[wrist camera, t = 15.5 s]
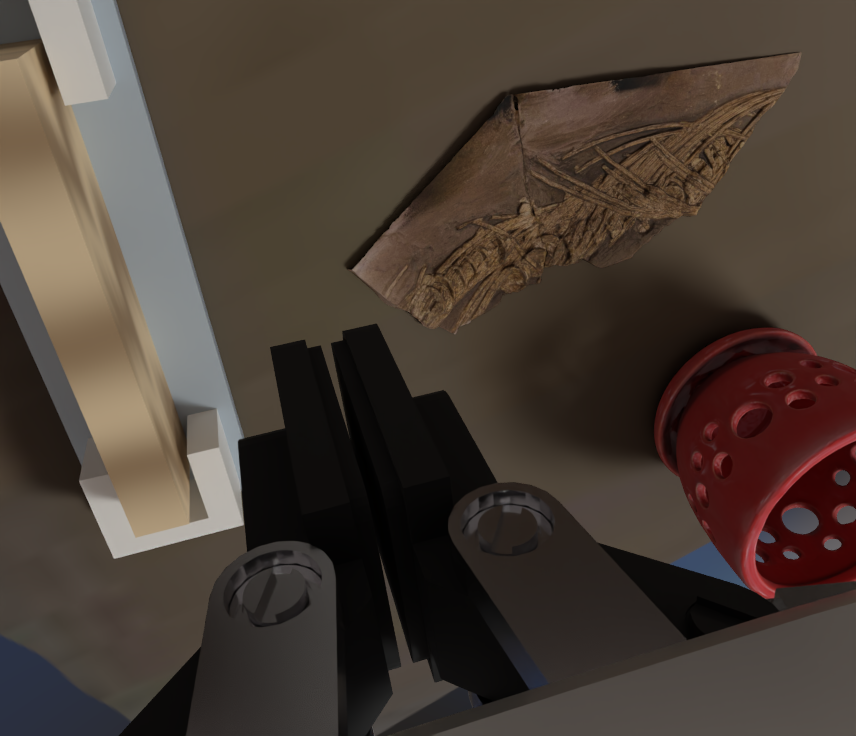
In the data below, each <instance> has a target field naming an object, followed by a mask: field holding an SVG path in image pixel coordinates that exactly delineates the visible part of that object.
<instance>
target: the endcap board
mask: <svg viewBox="0 0 856 736" xmlns="http://www.w3.org/2000/svg"><path fill="white" fill-rule="evenodd" d="M41 38H42V41H43V44H44V47H45V50H46V53H47V56H48V58H49V61H50V64H51V67H52V70H53V73H54V76H55V79H56V81H57V84H58V87H59V90H60V93H61V96H62V99H63V101H64V104H65V106H67V105H71V106H72V109H73V112H74V115H75V118H76V121H77V123H78V126H79V129H80V132H81V135H82V138H83V141H84V144H85V147H86V149H87V152H88V155H89V158H90V161H91V164H92V167H93V170H94V173H95V176H96V178H97V181H98V184H99V187H100V190H101V193H102V196H103V199H104V202H105V205H106V207H107V210H108V213H109V216H110V219H111V222H112V225H113V228H114V231H115V233H116V236H117V239H118V242H119V245H120V248H121V251H122V254H123V257H124V260H125V262H126V265H127V268H128V271H129V274H130V277H131V280H132V283H133V286H134V288H135V291H136V294H137V297H138V300H139V303H140V306H141V309H142V312H143V315H144V317H145V320H146V323H147V326H148V329H149V332H150V335H151V338H152V341H153V344H154V346H155V349H156V352H157V355H158V358H159V361H160V364H161V367H162V370H163V372H164V375H165V378H166V381H167V384H168V387H169V390H170V393H171V396H172V399H173V401H174V404H175V407H176V410H177V413H178V416H179V419H180V422H181V425H182V427H183V430H184V433H185V436H186V439H187V457H188V460H189V463H190V506H189V524H187V525H183V526H179V527H175V528H171V529H168V530H164V531H160V532H156V533H152V534H148V535H144V536H141V537H137V538H135V535H134V533H133V531H132V528H131V526H130V524H129V521H128V519H127V517H126V514H125V512H124V510H123V507H122V505H121V503H120V500H119V498H118V496H117V493H116V491H115V489H114V486H113V484H112V482H111V479H110V477H109V475H108V472H107V470H106V468H105V465H104V463H103V461H102V458H101V456H100V453H99V451H98V449H97V446H96V444H95V442H94V439H93V437H92V435H91V432H90V430H89V428H88V425H87V423H86V421H85V418H84V416H83V414H82V411H81V409H80V407H79V404H78V402H77V400H76V397H75V395H74V393H73V390H72V388H71V386H70V383H69V381H68V379H67V376H66V374H65V372H64V369H63V367H62V364H61V362H60V360H59V357H58V355H57V353H56V350H55V348H54V346H53V343H52V341H51V339H50V336H49V334H48V332H47V329H46V327H45V325H44V322H43V320H42V318H41V315H40V313H39V311H38V308H37V306H36V304H35V301H34V299H33V297H32V294H31V292H30V290H29V287H28V285H27V282H26V280H25V278H24V275H23V273H22V271H21V268H20V266H19V264H18V261H17V259H16V257H15V254H14V252H13V250H12V247H11V245H10V243H9V240H8V238H7V236H6V233H5V231H4V229H3V226H2V224H1V222H0V284H1V287H2V289H3V291H4V293H5V295H6V298H7V300H8V302H9V304H10V307H11V309H12V311H13V313H14V316H15V318H16V320H17V322H18V325H19V327H20V329H21V331H22V334H23V336H24V338H25V340H26V343H27V345H28V347H29V349H30V351H31V354H32V356H33V358H34V360H35V363H36V365H37V367H38V369H39V372H40V374H41V376H42V378H43V381H44V383H45V385H46V387H47V390H48V392H49V394H50V396H51V399H52V401H53V403H54V405H55V407H56V410H57V412H58V414H59V416H60V419H61V421H62V423H63V425H64V428H65V430H66V432H67V434H68V437H69V439H70V441H71V443H72V446H73V448H74V450H75V452H76V454H77V457H78V459H79V461H80V463H81V466H82V469H81V474H80V478H79V483H80V485H81V487H82V489H83V491H84V494H85V496H86V498H87V500H88V502H89V505H90V507H91V509H92V511H93V513H94V516H95V518H96V520H97V522H98V524H99V527H100V529H101V531H102V533H103V535H104V538H105V540H106V542H107V544H108V546H109V548H110V551H111V553H112V555H113V557H114V559H115V558H119V557H123V556H127V555H131V554H134V553H138V552H142V551H146V550H150V549H153V548H157V547H161V546H165V545H169V544H173V543H176V542H180V541H184V540H188V539H192V538H196V537H199V536H203V535H207V534H211V533H215V532H218V531H222V530H226V529H230V528H234V527H238V526H241V525H244V524H243V512H242V501H241V490H242V487H241V476H240V465H239V453H238V440H239V439H243V438H244V435H243V432H242V428H241V425H240V422H239V418H238V415H237V411H236V408H235V405H234V401H233V398H232V394H231V391H230V387H229V384H228V381H227V377H226V374H225V370H224V367H223V364H222V360H221V357H220V353H219V350H218V347H217V343H216V340H215V336H214V333H213V330H212V326H211V323H210V319H209V316H208V312H207V309H206V306H205V302H204V299H203V295H202V292H201V289H200V285H199V282H198V278H197V275H196V272H195V268H194V265H193V261H192V258H191V255H190V251H189V248H188V244H187V241H186V238H185V234H184V231H183V227H182V224H181V220H180V217H179V214H178V210H177V207H176V203H175V200H174V197H173V193H172V190H171V186H170V183H169V180H168V176H167V173H166V169H165V166H164V163H163V159H162V156H161V152H160V149H159V145H158V142H157V139H156V135H155V132H154V128H153V125H152V122H151V118H150V115H149V111H148V108H147V105H146V101H145V98H144V94H143V91H142V88H141V84H140V81H139V77H138V74H137V70H136V67H135V64H134V60H133V57H132V53H131V50H130V47H129V43H128V40H127V36H126V33H125V30H124V26H123V23H122V19H121V16H120V13H119V9H118V6H117V2H116V0H0V44H6V43H13V42H20V41H27V40H34V39H41Z"/></svg>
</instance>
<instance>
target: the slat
mask: <svg viewBox="0 0 856 736" xmlns="http://www.w3.org/2000/svg"><path fill="white" fill-rule="evenodd" d="M0 222H1V224H2V226H3V229H4V231H5V233H6V236H7V238H8V240H9V243H10V245H11V247H12V250H13V252H14V254H15V257H16V259H17V261H18V264H19V266H20V268H21V271H22V273H23V275H24V278H25V280H26V282H27V285H28V287H29V290H30V292H31V294H32V297H33V299H34V301H35V304H36V306H37V308H38V311H39V313H40V315H41V318H42V320H43V322H44V325H45V327H46V329H47V332H48V334H49V336H50V339H51V341H52V343H53V346H54V348H55V350H56V353H57V355H58V357H59V360H60V362H61V364H62V367H63V369H64V372H65V374H66V376H67V379H68V381H69V383H70V386H71V388H72V390H73V393H74V395H75V397H76V400H77V402H78V404H79V407H80V409H81V411H82V414H83V416H84V418H85V421H86V423H87V425H88V428H89V430H90V432H91V435H92V437H93V439H94V442H95V444H96V446H97V449H98V451H99V453H100V456H101V458H102V461H103V463H104V465H105V468H106V470H107V472H108V475H109V477H110V479H111V482H112V484H113V486H114V489H115V491H116V493H117V496H118V498H119V500H120V503H121V505H122V507H123V510H124V512H125V514H126V517H127V519H128V521H129V524H130V526H131V528H132V531H133V533H134V535H135V538H137V537H141V536H144V535H148V534H152V533H156V532H160V531H164V530H168V529H171V528H175V527H179V526H183V525H187V524H189V506H190V463H189V460H188V457H187V439H186V436H185V433H184V430H183V427H182V425H181V422H180V419H179V416H178V413H177V410H176V407H175V404H174V401H173V399H172V396H171V393H170V390H169V387H168V384H167V381H166V378H165V375H164V372H163V370H162V367H161V364H160V361H159V358H158V355H157V352H156V349H155V346H154V344H153V341H152V338H151V335H150V332H149V329H148V326H147V323H146V320H145V317H144V315H143V312H142V309H141V306H140V303H139V300H138V297H137V294H136V291H135V288H134V286H133V283H132V280H131V277H130V274H129V271H128V268H127V265H126V262H125V260H124V257H123V254H122V251H121V248H120V245H119V242H118V239H117V236H116V233H115V231H114V228H113V225H112V222H111V219H110V216H109V213H108V210H107V207H106V205H105V202H104V199H103V196H102V193H101V190H100V187H99V184H98V181H97V178H96V176H95V173H94V170H93V167H92V164H91V161H90V158H89V155H88V152H87V149H86V147H85V144H84V141H83V138H82V135H81V132H80V129H79V126H78V123H77V121H76V118H75V115H74V112H73V109H72V106H71V105H67V106H65V104H64V101H63V99H62V96H61V93H60V90H59V87H58V84H57V81H56V79H55V76H54V73H53V70H52V67H51V64H50V61H49V58H48V56H47V53H46V50H45V47H44V44H43V41H42V38H41V39H34V40H27V41H20V42H13V43H6V44H0Z"/></svg>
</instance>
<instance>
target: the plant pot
mask: <svg viewBox="0 0 856 736" xmlns="http://www.w3.org/2000/svg"><path fill="white" fill-rule="evenodd" d="M654 437H655V445H656V448H657V451H658V454H659V456H660V458H661V460H662V462H663V463H664V464H665V466H666V467H667V468H668V469H669V470H670V471H671V472H673V473H674V474H675V475H677V476H678V477H680V480H681V483H682V486H683V489H684V492H685V494H686V497H687V499H688V501H689V504H690V506H691V508H692V509H693V511H694V513H695V515H696V517H697V519H698V521H699V522H700V524H701V526H702V527H703V529H704V530H705V532H706V533H707V535H708V536H709V538H710V539H711V541H712V542H713V544H714V545H715V547H716V548H717V550H718V551H719V552H720V554H721V555H722V556H723V558H724V559H725V560H726V561H727V563H728V564H729V565H730V567H731V568H732V569H733V570H734V572H735V573H736V574H737V575H738V577H739V578H740V579H741V580H742V581H743V583H744V584H745V585H746V586H747V587H748V588H749V589H750V590H751V591H754V592H756V593H758V594H759V595H761V596H762V597H763V598H766V599H769V598H774V596H775V591H776V588H785V587H796V586H807V585H818V584H829V583H840V582H851V581H856V520H855V521H854V522H851V523H848V524H840V523H839V522H838V521H837V517H836V516H837V513H838V511H839V510H840V509H841V508H842V507H844V506H853V507H854V508H855V509H856V456H855V451H856V370H855V369H853V368H851V367H849V366H847V365H844V364H842V363H839V362H836V361H834V360H830V359H827V358H823V357H820V356H817V354H816V352H815V351H814V349H813V348H812V346H811V345H810V344H809V343H808V342H807V341H806V340H805V339H803V338H802V337H801V336H799V335H797V334H795V333H793V332H790V331H787V330H784V329H780V328H754V329H748V330H743V331H739V332H736V333H733V334H730V335H727V336H725V337H723V338H721V339H718V340H717V341H715V342H713V343H711V344H710V345H708V346H706V347H705V348H703V349H702V350H701V351H699V352H698V353H697V354H695V355H694V356H693V357H692V358H691V359H689V360H688V361H687V362H686V363H685V364H684V365H683V366H682V368H681V369H680V370H679V371H678V372H677V373H676V374H675V376H674V377H673V378H672V380H671V381H670V383H669V384H668V386H667V388H666V389H665V391H664V393H663V395H662V397H661V400H660V402H659V405H658V408H657V412H656V417H655V424H654ZM841 470H845V471H847V472H848V473H849V475H850V481H849V483H848V484H847V485H846V486H841V485H838V484H837V483H836V482H835V475H836V473H837V472H838V471H841ZM796 507H801V508H806V509H809V510H810V511H812V512H813V513H814V514H815V515H816V516H817V518H818V520H819V525H818V527H817V528H816V529H815V530H814V531H812V532H810V533H808V534H803V535H802V534H797V533H794V532H791V531H790V530H788V529H787V528H786V527H785V525H784V524H783V521H782V515H783V513H784V512H785V511H787V510H788V509H791V508H796ZM761 531H765V532H768V533H770V534H771V535H772V536H773V537H774V538H775V540H776V542H774V543H764V542H761V541H760V540H759V539H758V537H759V535H760V532H761ZM828 539H838V540H839V541H840V542H841V543H842V545H841V547H840V548H839V549H837V550H828V549H826V548H825V547H824V543H825V542H826V541H827V540H828ZM785 551H792V552H794V553H796V554H797V555H798V556H799V558H798V559H795V560H793V559H788V558H786V557H785V556H784V555H783V552H785ZM755 553H756V554H758V555H759V556H760V557H762V559H763V560H764V562H765V563H762V562H758V561H756V560H755Z"/></svg>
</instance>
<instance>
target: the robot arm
mask: <svg viewBox="0 0 856 736" xmlns="http://www.w3.org/2000/svg"><path fill="white" fill-rule="evenodd" d="M331 346H332V352H333V357H334V362H335V367H336V372H337V377H338V382H339V387H340V392H341V396H342V401H343V406H344V411H345V416H346V421H347V426H348V431H349V435H348V431H347V428H346V425H345V422H344V419H343V416H342V412H341V409H340V406H339V403H338V400H337V396H336V393H335V390H334V387H333V384H332V380H331V377H330V374H329V371H328V368H327V364H326V361H325V358H324V355H323V352H322V348H321V346H316V347H311V348H307V346H306V342H305V340H300V341H296V342H291V343H287V344H282V345H278V346H273V347H270V349H271V355H272V360H273V365H274V371H275V376H276V381H277V387H278V392H279V397H280V403H281V408H282V413H283V419H284V424H285V429H281V430H276V431H272V432H268V433H264V434H260V435H256V436H252V437H247V438H243V439H239V440H238V453H239V465H240V476H241V487H242V499H243V510H244V521H245V532H246V544H247V553H245V554H243V555H241V556H239V557H238V558H237V559H236V560H235V561H233V562H232V563H231V564H230V565H228V566H227V567H226V568H225V569H224V571H223V572H222V573H221V575H220V576H219V577H218V579H217V580H216V581H215V583H214V586H213V589H212V592H211V594H210V598H209V603H208V609H207V615H206V621H205V627H204V633H203V639H202V645H201V647H200V648H199V649H198V650H197V652H196V653H195V654H194V655H193V656H192V657H191V658H190V659H189V660H188V661H187V662H186V663H185V665H184V666H183V667H182V668H181V669H180V670H179V671H178V672H177V673H176V674H175V675H174V676H173V678H172V679H171V680H170V681H169V682H168V683H167V684H166V685H165V686H164V687H163V688H162V689H161V690H160V692H159V693H158V694H157V695H156V696H155V697H154V698H153V699H152V700H151V701H150V702H149V703H148V705H147V706H146V707H145V708H144V709H143V710H142V711H141V712H140V713H139V714H138V715H137V716H136V718H135V719H134V720H133V721H132V722H131V723H130V724H129V725H128V726H127V727H126V728H125V729H124V731H123V732H122V733H121V734H120V735H119V736H374V732H373V728H372V725H373V724H374V722H375V720H376V719H377V717H378V716H379V714H380V713H381V711H382V710H383V708H384V707H385V705H386V703H387V702H388V700H389V699H390V697H391V696H392V694H393V692H392V687H391V682H390V678H389V673H388V671H389V670H392V669H395V668H398V667H401V663H400V657H399V652H398V647H397V642H396V637H395V632H394V627H393V621H392V616H391V611H390V606H389V601H388V596H387V591H386V586H385V580H384V575H383V570H382V565H381V560H380V556H381V559H382V563H383V566H384V569H385V573H386V576H387V579H388V583H389V586H390V589H391V592H392V596H393V599H394V602H395V606H396V609H397V612H398V616H399V619H400V622H401V625H402V629H403V632H404V635H405V639H406V642H407V645H408V649H409V652H410V655H411V658H412V661H413V663H415V662H418V661H421V660H425V659H427V660H428V663H429V666H430V669H431V672H432V676H433V679H434V682H439V681H442V680H445V681H447V682H449V683H452V684H454V685H456V686H459V687H461V688H464V689H466V690H468V693H469V699H470V701H471V704H472V707H473V708H472V709H469V710H466V711H463V712H460V713H457V714H453V715H450V716H447V717H444V718H441V719H438V720H435V721H432V722H429V723H426V724H422V725H419V726H416V727H413V728H410V729H407V730H404V731H401V732H398V733H394V734H391V735H388V736H856V581H851V582H840V583H829V584H818V585H807V586H796V587H785V588H776V591H775V596H774V598H769V599H765V598H763V597H762V596H761V595H759V594H758V593H756V592H754V591H751V590H749V589H746V588H744V587H742V586H739V585H737V584H734V583H730V582H727V581H723V580H720V579H717V578H714V577H710V576H706V575H704V574H700V573H697V572H694V571H690V570H687V569H684V568H680V567H676V566H674V565H670V564H667V563H664V562H660V561H657V560H654V559H650V558H647V557H644V556H640V555H637V554H634V553H630V552H627V551H624V550H620V549H617V548H614V547H610V546H607V545H604V544H600V543H597V542H596V541H595V540H594V539H593V537H592V536H591V535H590V534H589V533H588V532H587V531H586V530H585V529H584V528H583V527H582V526H581V525H580V523H579V522H578V521H577V520H576V519H575V518H574V517H573V516H572V515H571V514H570V513H569V512H568V511H567V509H566V508H565V507H564V506H563V505H562V504H561V503H560V502H559V501H558V500H557V499H556V498H554V497H553V496H552V495H550V494H549V493H548V492H547V491H544V490H542V489H540V488H537V487H535V486H532V485H528V484H522V483H516V482H508V483H497V481H496V479H495V477H494V475H493V474H492V472H491V470H490V468H489V467H488V465H487V463H486V461H485V459H484V458H483V456H482V454H481V452H480V450H479V449H478V447H477V445H476V443H475V441H474V440H473V438H472V436H471V434H470V433H469V431H468V429H467V427H466V425H465V424H464V422H463V420H462V418H461V416H460V415H459V413H458V411H457V409H456V407H455V406H454V404H453V402H452V400H451V399H450V397H449V395H448V394H447V392H446V391H444V390H442V391H438V392H434V393H430V394H425V395H421V396H417V397H413V398H412V396H411V394H410V392H409V390H408V388H407V386H406V384H405V381H404V379H403V377H402V375H401V373H400V371H399V369H398V367H397V365H396V363H395V360H394V358H393V356H392V354H391V352H390V350H389V348H388V346H387V344H386V342H385V339H384V337H383V335H382V333H381V331H380V329H379V327H378V325H377V324H373V325H368V326H364V327H359V328H355V329H350V330H346V331H343V340H342V341H338V342H334V343H331ZM349 436H350V438H349ZM379 553H380V555H379Z"/></svg>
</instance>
